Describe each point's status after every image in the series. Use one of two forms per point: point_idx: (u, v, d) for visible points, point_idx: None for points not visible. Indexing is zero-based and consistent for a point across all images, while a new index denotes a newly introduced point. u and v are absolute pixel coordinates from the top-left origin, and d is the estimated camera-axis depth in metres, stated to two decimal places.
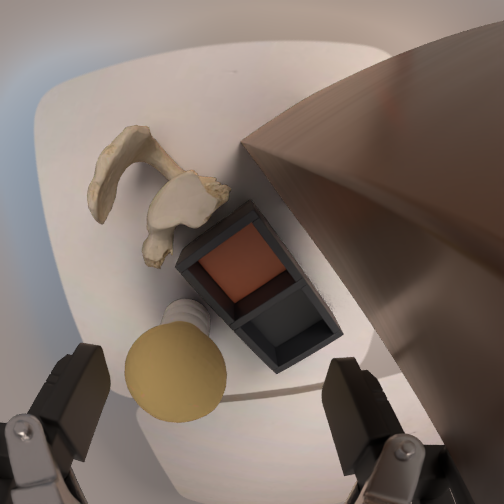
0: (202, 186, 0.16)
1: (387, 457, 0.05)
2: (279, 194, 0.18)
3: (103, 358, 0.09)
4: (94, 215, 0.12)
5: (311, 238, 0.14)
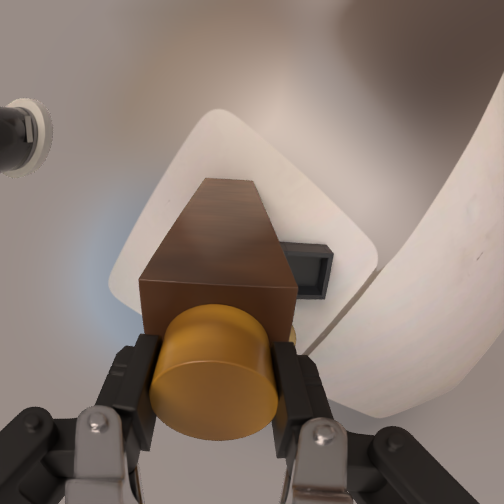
0: None
1: (306, 445, 0.06)
2: None
3: None
4: None
5: None
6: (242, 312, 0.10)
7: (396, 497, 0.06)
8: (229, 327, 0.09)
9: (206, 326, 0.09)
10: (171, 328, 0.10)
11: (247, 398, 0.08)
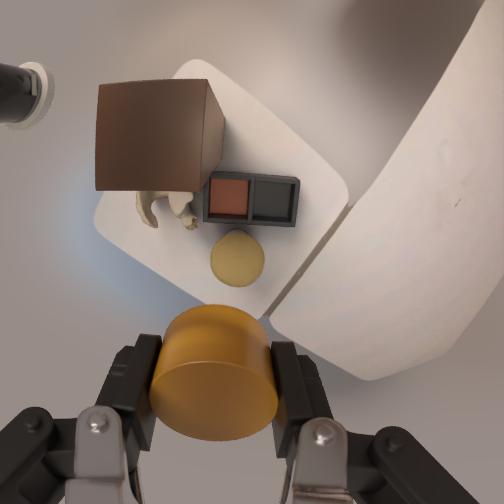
0: None
1: (306, 445, 0.06)
2: None
3: None
4: (151, 225, 0.33)
5: None
6: (242, 313, 0.10)
7: (396, 497, 0.06)
8: (229, 328, 0.09)
9: (205, 327, 0.09)
10: (171, 328, 0.10)
11: (247, 399, 0.08)
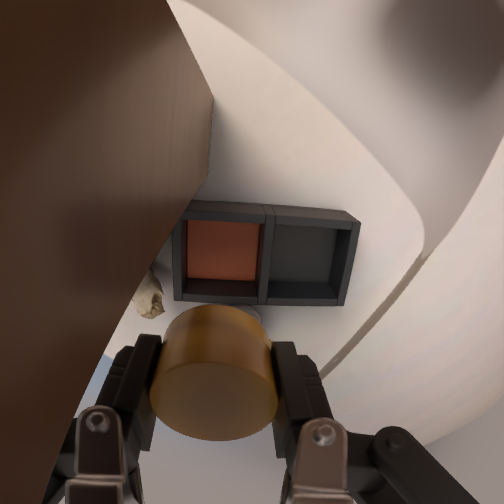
0: None
1: (306, 445, 0.06)
2: None
3: None
4: None
5: None
6: (242, 312, 0.10)
7: (396, 497, 0.06)
8: (229, 328, 0.09)
9: (206, 326, 0.09)
10: (171, 328, 0.10)
11: (247, 399, 0.08)
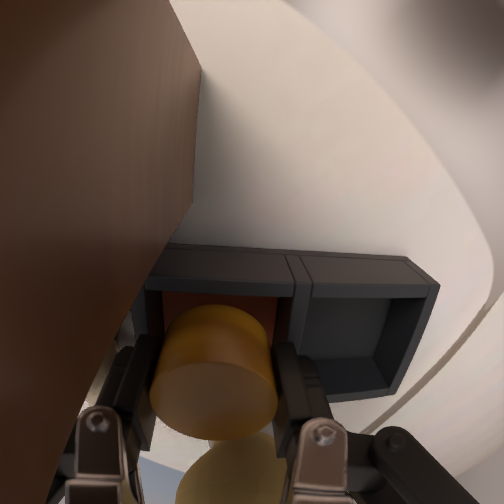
0: None
1: (306, 445, 0.06)
2: None
3: None
4: None
5: None
6: (242, 312, 0.10)
7: (396, 497, 0.06)
8: (229, 328, 0.09)
9: (206, 326, 0.09)
10: (171, 328, 0.10)
11: (247, 399, 0.08)
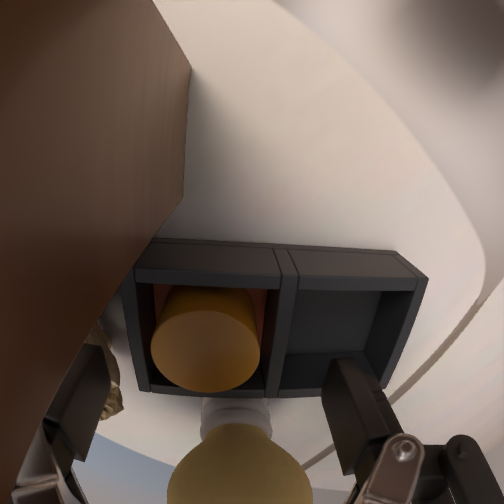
0: None
1: (386, 457, 0.05)
2: None
3: (103, 358, 0.09)
4: None
5: None
6: None
7: None
8: (218, 289, 0.11)
9: (199, 287, 0.11)
10: (171, 292, 0.12)
11: (233, 348, 0.10)
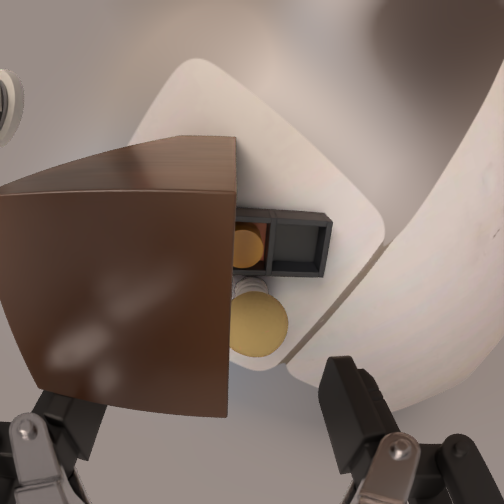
0: None
1: (382, 456, 0.05)
2: None
3: None
4: None
5: None
6: None
7: None
8: (247, 224, 0.30)
9: (240, 224, 0.30)
10: None
11: (253, 245, 0.29)
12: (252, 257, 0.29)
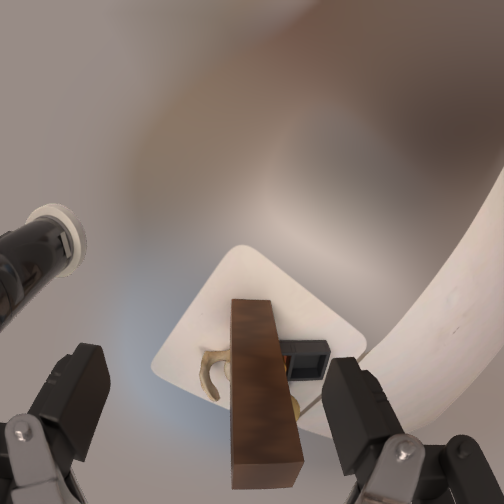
0: None
1: (387, 457, 0.05)
2: None
3: (103, 358, 0.09)
4: None
5: None
6: None
7: None
8: None
9: None
10: None
11: None
12: None
